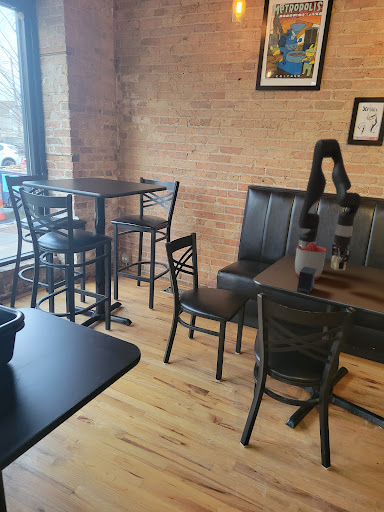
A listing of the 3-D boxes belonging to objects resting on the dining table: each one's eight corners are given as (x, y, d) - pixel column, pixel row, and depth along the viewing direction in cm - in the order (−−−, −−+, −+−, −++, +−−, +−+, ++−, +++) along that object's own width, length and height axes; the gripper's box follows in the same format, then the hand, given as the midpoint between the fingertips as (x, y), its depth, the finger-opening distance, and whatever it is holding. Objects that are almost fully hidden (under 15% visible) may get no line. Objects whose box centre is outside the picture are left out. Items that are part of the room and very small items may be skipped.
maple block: (330, 266, 180) (332, 255, 179) (339, 267, 181) (341, 255, 179) (335, 270, 176) (337, 258, 174) (345, 270, 176) (346, 258, 175)
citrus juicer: (308, 271, 208) (313, 238, 203) (328, 281, 192) (334, 245, 187) (285, 273, 203) (289, 238, 198) (303, 283, 187) (308, 246, 182)
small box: (309, 294, 171) (312, 273, 168) (296, 291, 174) (298, 271, 172) (314, 288, 180) (317, 268, 177) (301, 285, 183) (304, 266, 180)
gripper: (329, 230, 180) (324, 263, 185) (343, 237, 166) (337, 271, 171) (343, 231, 181) (337, 263, 185) (358, 237, 167) (352, 272, 172)
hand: (337, 267), depth 178 cm, fingers closed on maple block, 5 cm apart
